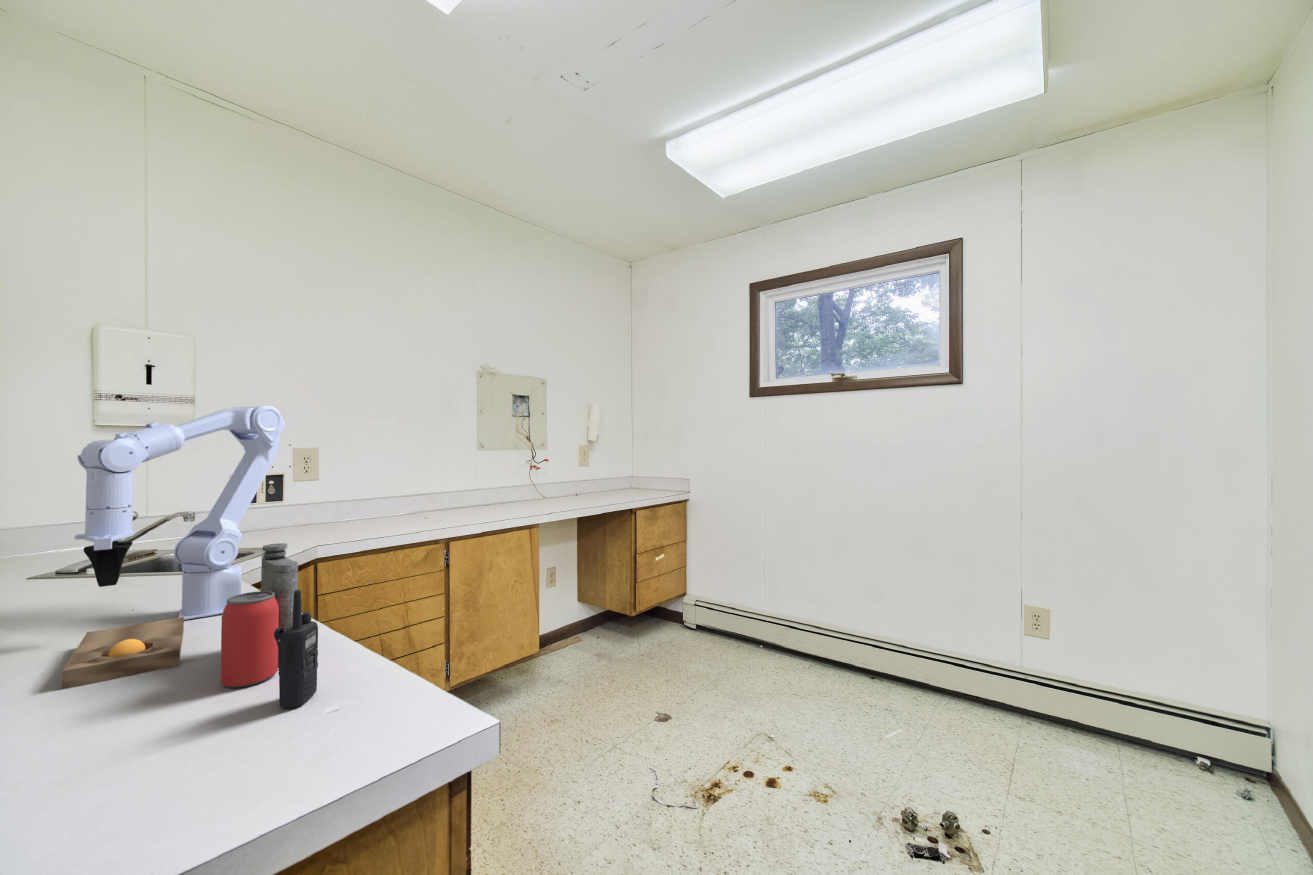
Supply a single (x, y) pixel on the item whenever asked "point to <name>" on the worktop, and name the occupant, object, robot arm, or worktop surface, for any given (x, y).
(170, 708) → the worktop surface
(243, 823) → the worktop surface
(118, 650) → the ball
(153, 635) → the hole board
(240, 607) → the beer can
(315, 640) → the two-way radio
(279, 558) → the flask
